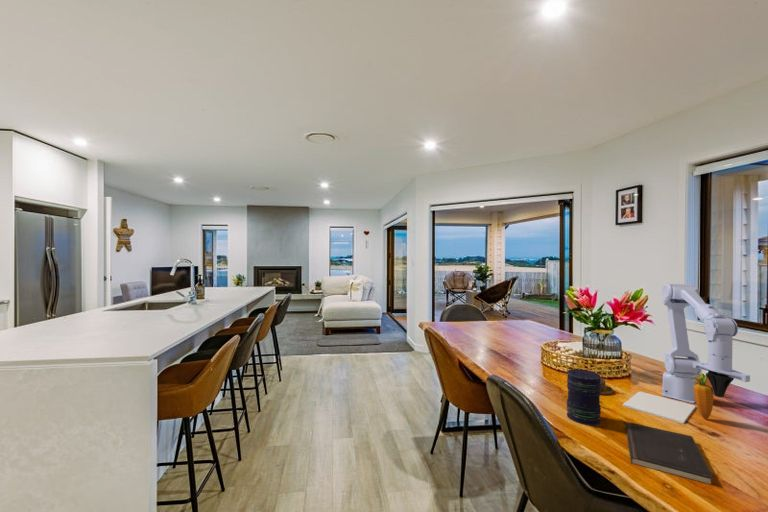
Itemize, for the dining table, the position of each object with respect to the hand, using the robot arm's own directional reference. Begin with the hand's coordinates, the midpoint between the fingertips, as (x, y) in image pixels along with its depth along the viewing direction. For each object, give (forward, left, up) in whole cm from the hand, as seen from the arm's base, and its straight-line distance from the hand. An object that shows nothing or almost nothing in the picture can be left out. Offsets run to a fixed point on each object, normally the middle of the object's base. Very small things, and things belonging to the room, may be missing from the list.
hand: (719, 396), depth 114 cm
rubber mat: (-16, 0, -9) cm, 18 cm away
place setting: (-38, -4, -10) cm, 40 cm away
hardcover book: (-7, -36, -10) cm, 38 cm away
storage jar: (-29, -32, -9) cm, 44 cm away
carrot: (-3, 0, -9) cm, 10 cm away
